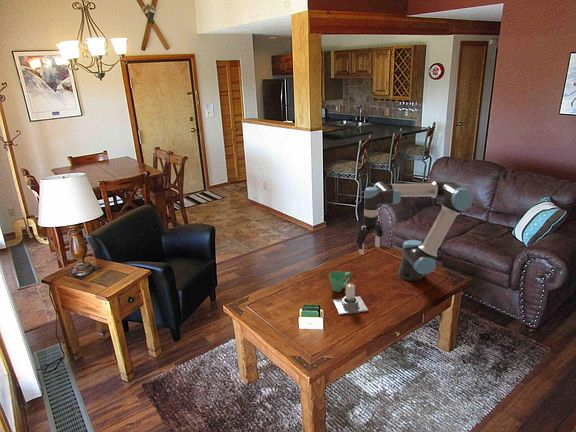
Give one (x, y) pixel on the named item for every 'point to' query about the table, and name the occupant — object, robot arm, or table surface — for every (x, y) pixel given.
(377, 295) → the table surface
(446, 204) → the robot arm
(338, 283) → the mug
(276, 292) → the table surface
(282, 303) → the table surface
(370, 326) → the table surface
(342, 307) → the duct flange
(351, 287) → the pale grey cylinder
